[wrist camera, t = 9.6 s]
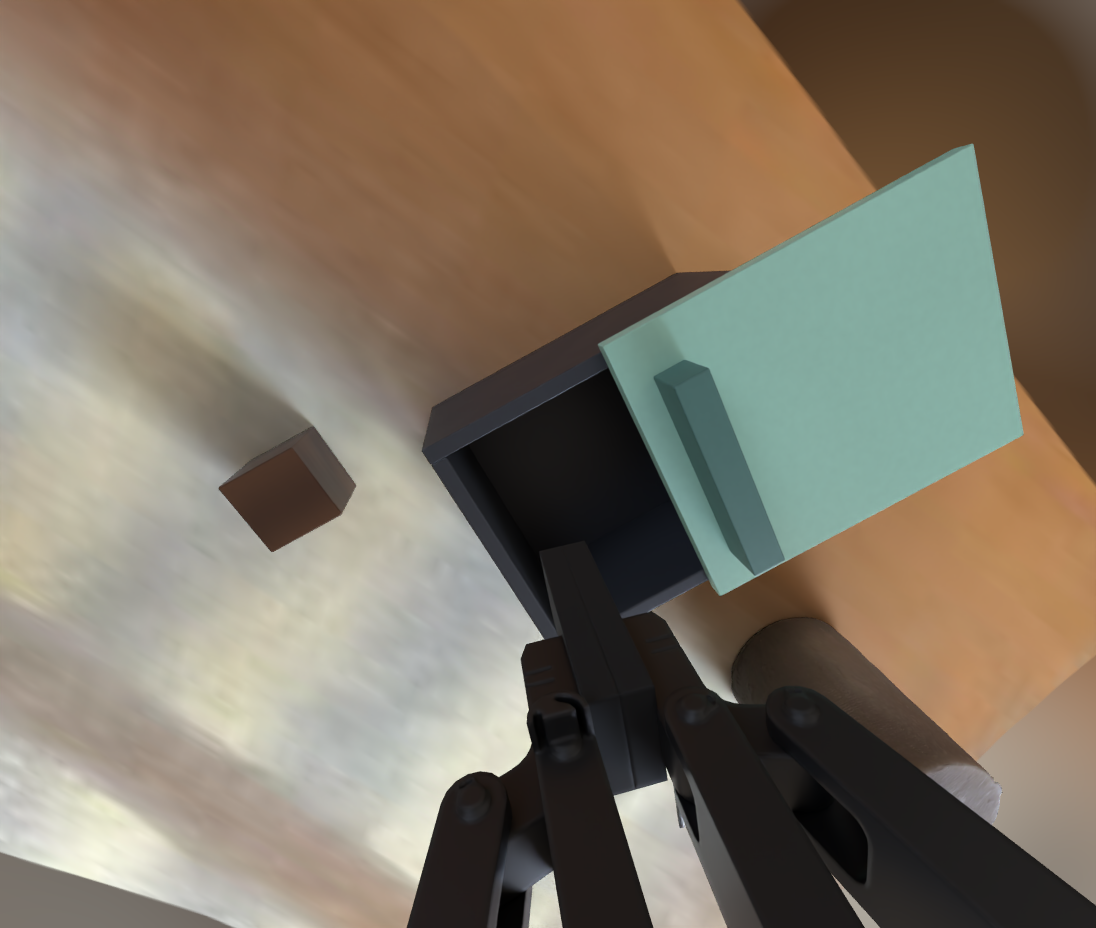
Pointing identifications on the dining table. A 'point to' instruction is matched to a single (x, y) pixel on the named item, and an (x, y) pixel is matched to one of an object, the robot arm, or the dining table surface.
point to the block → (290, 489)
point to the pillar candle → (860, 702)
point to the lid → (826, 373)
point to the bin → (567, 467)
